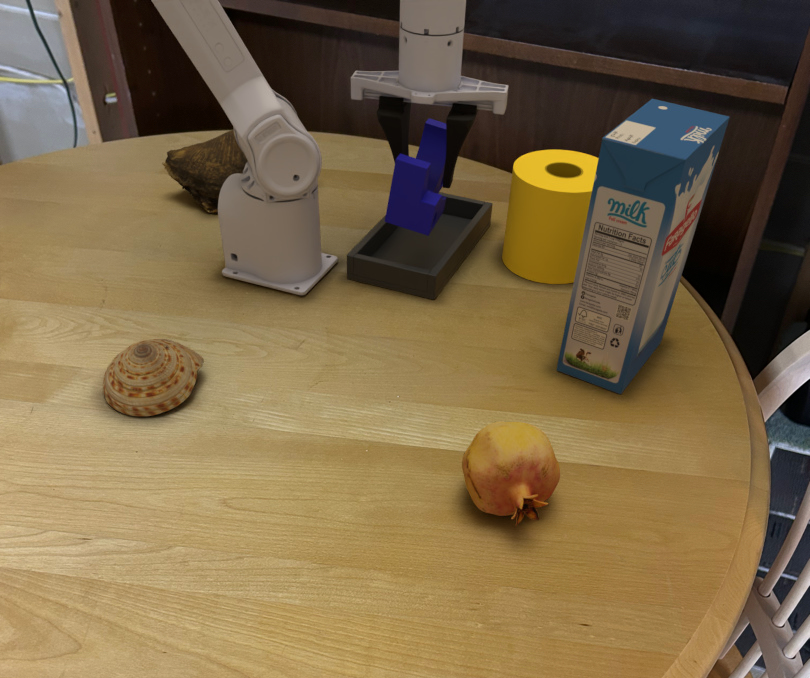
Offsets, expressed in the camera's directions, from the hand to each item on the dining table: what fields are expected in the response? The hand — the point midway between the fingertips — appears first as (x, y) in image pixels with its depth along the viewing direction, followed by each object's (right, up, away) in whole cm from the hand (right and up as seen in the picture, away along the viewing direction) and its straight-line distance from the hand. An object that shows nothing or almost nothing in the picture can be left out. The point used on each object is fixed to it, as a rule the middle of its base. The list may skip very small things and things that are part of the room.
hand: (425, 181), depth 81 cm
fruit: (+6, -33, -20) cm, 39 cm away
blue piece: (0, -2, +1) cm, 2 cm away
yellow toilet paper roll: (+13, -6, +5) cm, 16 cm away
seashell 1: (-24, -23, -12) cm, 35 cm away
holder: (0, -5, +6) cm, 8 cm away
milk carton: (+17, -19, -7) cm, 27 cm away
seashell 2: (-21, +4, +14) cm, 25 cm away
